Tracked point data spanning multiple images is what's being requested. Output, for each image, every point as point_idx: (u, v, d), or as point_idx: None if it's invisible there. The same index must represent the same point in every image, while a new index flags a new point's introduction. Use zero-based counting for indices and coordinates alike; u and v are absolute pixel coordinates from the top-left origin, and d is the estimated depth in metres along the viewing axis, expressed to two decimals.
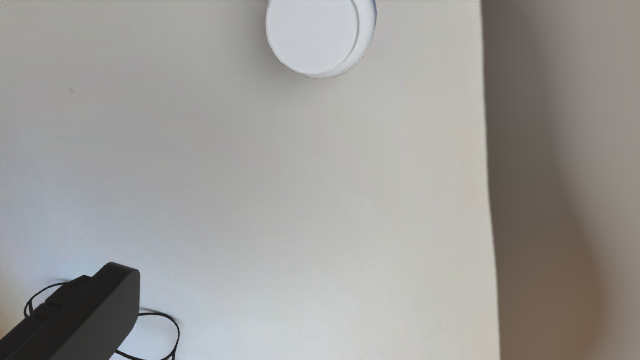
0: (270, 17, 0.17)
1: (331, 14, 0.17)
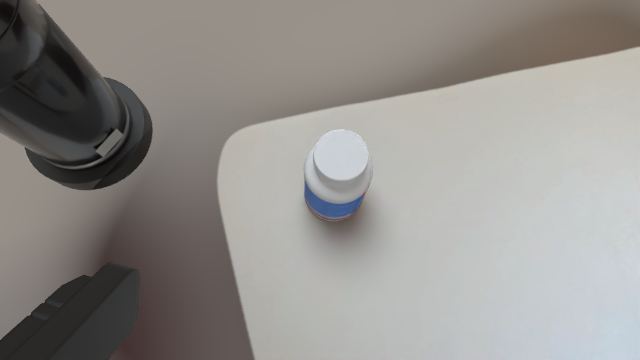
0: (336, 177, 0.28)
1: (333, 142, 0.29)
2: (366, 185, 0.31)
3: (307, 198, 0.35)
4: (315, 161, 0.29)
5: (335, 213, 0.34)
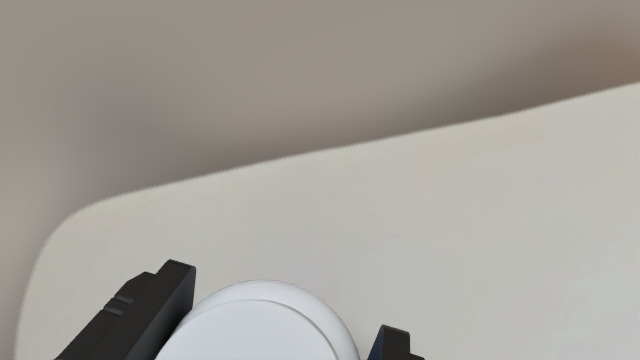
0: None
1: (217, 356, 0.08)
2: None
3: None
4: None
5: None
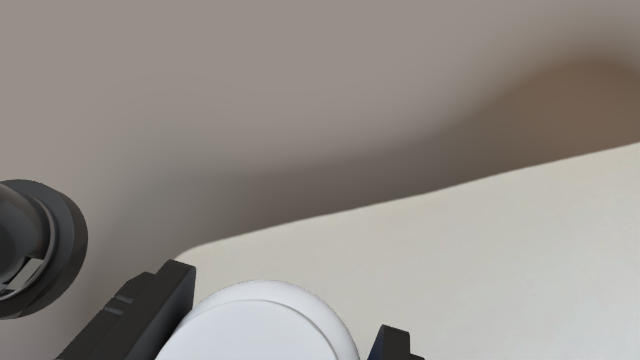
0: None
1: (217, 357, 0.08)
2: None
3: None
4: None
5: None
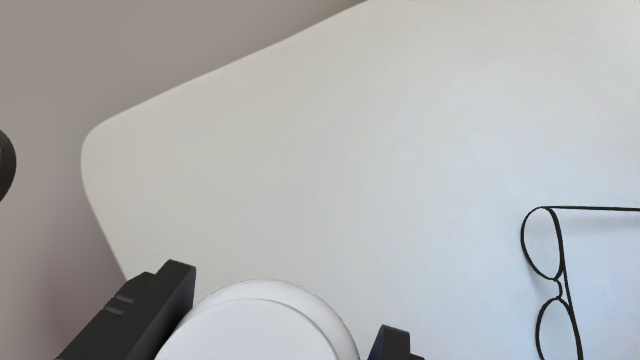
0: None
1: (217, 355, 0.08)
2: None
3: None
4: None
5: None
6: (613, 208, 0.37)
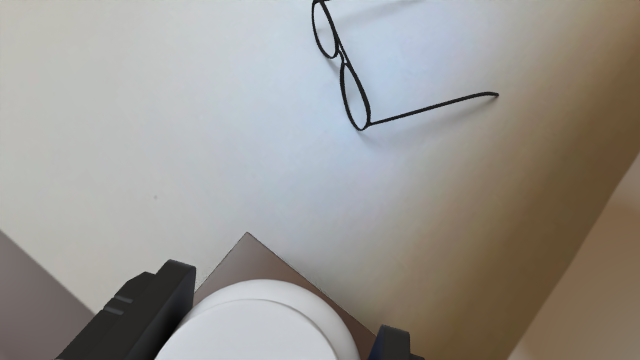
0: None
1: (217, 356, 0.08)
2: None
3: None
4: None
5: None
6: None
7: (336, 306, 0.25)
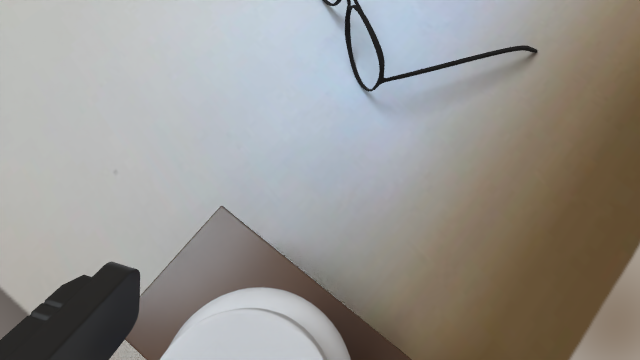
0: None
1: None
2: None
3: None
4: None
5: None
6: None
7: (344, 308, 0.18)
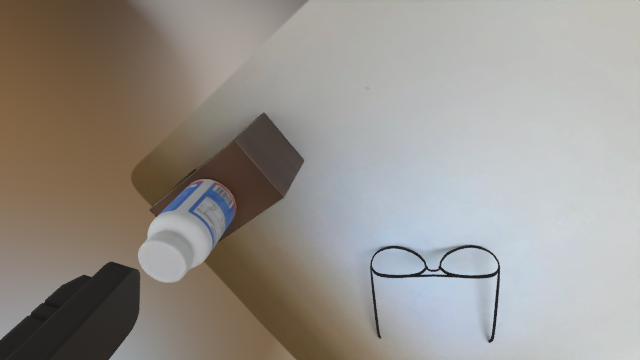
0: (140, 252, 0.31)
1: (173, 260, 0.31)
2: None
3: (188, 191, 0.37)
4: (155, 241, 0.31)
5: None
6: (496, 311, 0.48)
7: (230, 232, 0.41)
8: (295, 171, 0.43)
